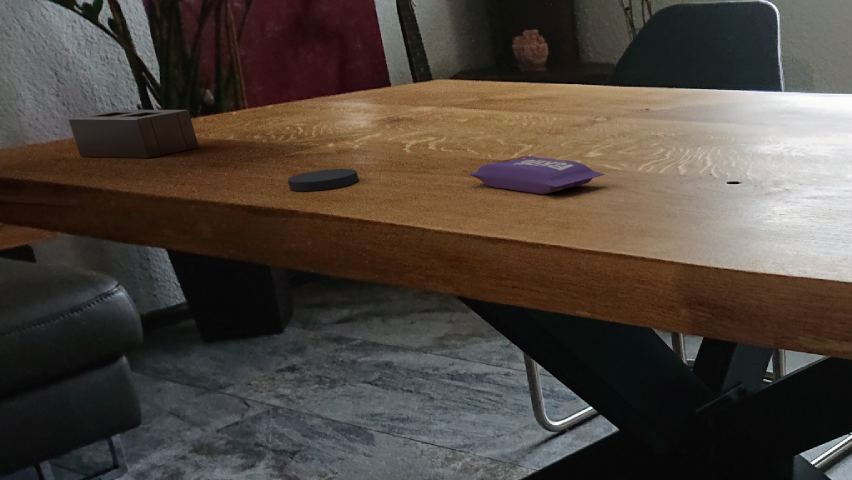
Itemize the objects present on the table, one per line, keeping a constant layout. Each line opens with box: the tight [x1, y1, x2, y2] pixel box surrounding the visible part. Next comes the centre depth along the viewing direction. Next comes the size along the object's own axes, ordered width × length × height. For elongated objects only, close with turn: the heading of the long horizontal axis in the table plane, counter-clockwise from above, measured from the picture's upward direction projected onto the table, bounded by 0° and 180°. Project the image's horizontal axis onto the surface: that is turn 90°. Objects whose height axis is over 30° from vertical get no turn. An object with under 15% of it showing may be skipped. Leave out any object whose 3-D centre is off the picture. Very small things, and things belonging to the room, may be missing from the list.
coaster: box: [287, 168, 359, 192], centre depth 94 cm, size 6×6×1 cm
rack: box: [67, 109, 200, 159], centre depth 118 cm, size 6×11×4 cm, turn 67°
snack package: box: [467, 155, 606, 195], centre depth 87 cm, size 12×2×5 cm
